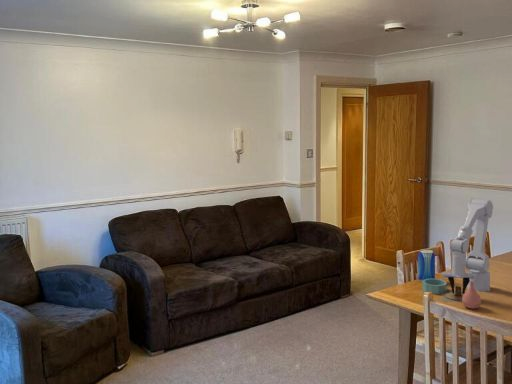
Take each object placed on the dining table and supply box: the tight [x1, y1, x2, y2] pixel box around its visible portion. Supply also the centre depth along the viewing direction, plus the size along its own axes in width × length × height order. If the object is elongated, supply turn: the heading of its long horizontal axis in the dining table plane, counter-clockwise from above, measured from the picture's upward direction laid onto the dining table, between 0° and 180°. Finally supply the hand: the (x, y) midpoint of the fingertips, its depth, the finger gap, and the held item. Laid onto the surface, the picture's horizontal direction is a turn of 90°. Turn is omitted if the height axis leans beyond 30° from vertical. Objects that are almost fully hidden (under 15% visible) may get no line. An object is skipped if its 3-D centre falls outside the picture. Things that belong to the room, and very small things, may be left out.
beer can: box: [417, 249, 436, 283], centre depth 258 cm, size 8×8×16 cm
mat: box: [441, 292, 463, 303], centre depth 234 cm, size 14×14×1 cm
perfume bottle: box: [461, 282, 482, 309], centre depth 219 cm, size 8×8×12 cm
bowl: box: [421, 278, 448, 295], centre depth 244 cm, size 11×11×4 cm
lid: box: [445, 285, 467, 301], centre depth 233 cm, size 12×12×5 cm
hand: (458, 293), depth 233 cm, fingers open, 4 cm apart
